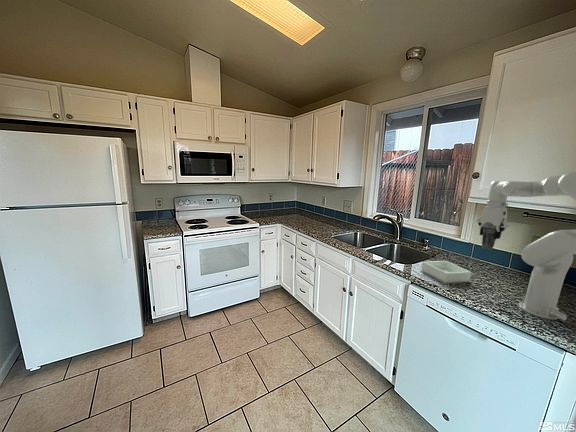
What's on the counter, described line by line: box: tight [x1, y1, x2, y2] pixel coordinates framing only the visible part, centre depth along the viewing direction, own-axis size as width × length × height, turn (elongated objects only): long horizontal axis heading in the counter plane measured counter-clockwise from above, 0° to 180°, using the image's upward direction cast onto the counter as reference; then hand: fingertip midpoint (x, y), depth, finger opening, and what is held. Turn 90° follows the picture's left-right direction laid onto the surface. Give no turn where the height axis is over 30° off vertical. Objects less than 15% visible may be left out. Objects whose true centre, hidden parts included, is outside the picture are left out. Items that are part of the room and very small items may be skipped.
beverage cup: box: [481, 222, 497, 251], centre depth 127 cm, size 7×7×20 cm
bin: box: [421, 260, 472, 284], centre depth 139 cm, size 17×17×6 cm
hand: (489, 236), depth 127 cm, fingers closed on beverage cup, 6 cm apart
